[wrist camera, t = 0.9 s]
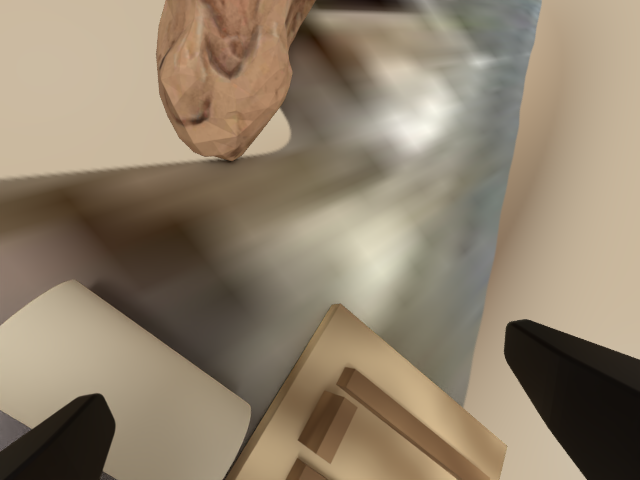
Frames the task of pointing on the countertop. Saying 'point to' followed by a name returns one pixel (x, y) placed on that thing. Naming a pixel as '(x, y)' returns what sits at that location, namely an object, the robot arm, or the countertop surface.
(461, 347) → the countertop surface
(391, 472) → the holder
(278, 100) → the rock
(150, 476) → the roll
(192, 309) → the countertop surface
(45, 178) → the countertop surface
